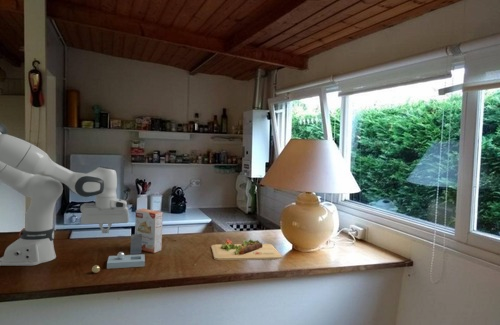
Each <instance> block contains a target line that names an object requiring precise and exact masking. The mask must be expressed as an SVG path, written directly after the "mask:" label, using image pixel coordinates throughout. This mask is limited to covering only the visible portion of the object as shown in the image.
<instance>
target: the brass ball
mask: <svg viewBox="0 0 500 325" xmlns="http://www.w3.org/2000/svg"><path fill="white" fill-rule="evenodd" d="M91 271H92V273H94V274H96V273H99V272H100V271H101V267H100V265H97V264H95V265H94V266H92V268H91Z"/></svg>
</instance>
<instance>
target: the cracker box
mask: <svg viewBox="0 0 500 325" xmlns="http://www.w3.org/2000/svg"><path fill="white" fill-rule="evenodd" d="M163 213H164V212H163V211H159V210H153V209H146V208H140V209H136V210H135V219H134V221H135V222H134V226H135V227H134V234H142V247H141V251H144V252H147V253H151V254H155V253H158V252H162V246H163V245H162V244H163V242H162V241H163V215H164V214H163Z"/></svg>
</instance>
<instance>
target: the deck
mask: <svg viewBox="0 0 500 325" xmlns="http://www.w3.org/2000/svg"><path fill="white" fill-rule="evenodd" d="M145 266H146V257H145V253H144V254H143V253H141V254H125V256H124V258H123V259H119V258H118V257H117V255H109V256H108V258H107V262H106V270H107V269H109V270H111V269H123V268H137V267H139V268H140V267H141V268H142V267H145Z"/></svg>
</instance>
